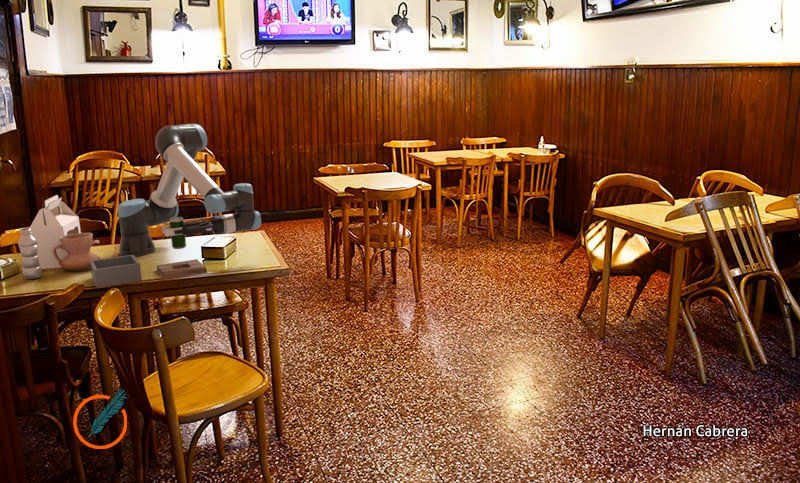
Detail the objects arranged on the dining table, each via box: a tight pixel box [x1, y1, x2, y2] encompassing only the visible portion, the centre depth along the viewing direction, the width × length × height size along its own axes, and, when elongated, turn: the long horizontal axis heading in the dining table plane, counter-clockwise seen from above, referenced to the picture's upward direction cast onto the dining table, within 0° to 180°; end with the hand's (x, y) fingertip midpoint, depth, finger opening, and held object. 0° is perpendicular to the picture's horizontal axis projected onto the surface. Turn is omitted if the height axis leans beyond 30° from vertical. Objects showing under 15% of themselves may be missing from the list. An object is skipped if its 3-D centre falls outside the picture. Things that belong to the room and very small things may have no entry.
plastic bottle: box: [17, 227, 43, 280], centre depth 258 cm, size 6×7×20 cm
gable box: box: [29, 194, 82, 270], centre depth 282 cm, size 22×13×28 cm, turn 10°
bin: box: [90, 255, 143, 289], centre depth 256 cm, size 16×16×7 cm
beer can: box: [168, 216, 187, 250], centre depth 262 cm, size 5×5×12 cm
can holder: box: [156, 258, 208, 280], centre depth 265 cm, size 16×16×2 cm
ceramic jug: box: [52, 232, 102, 272], centre depth 272 cm, size 18×14×14 cm
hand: (163, 231), depth 259 cm, fingers closed on beer can, 5 cm apart
